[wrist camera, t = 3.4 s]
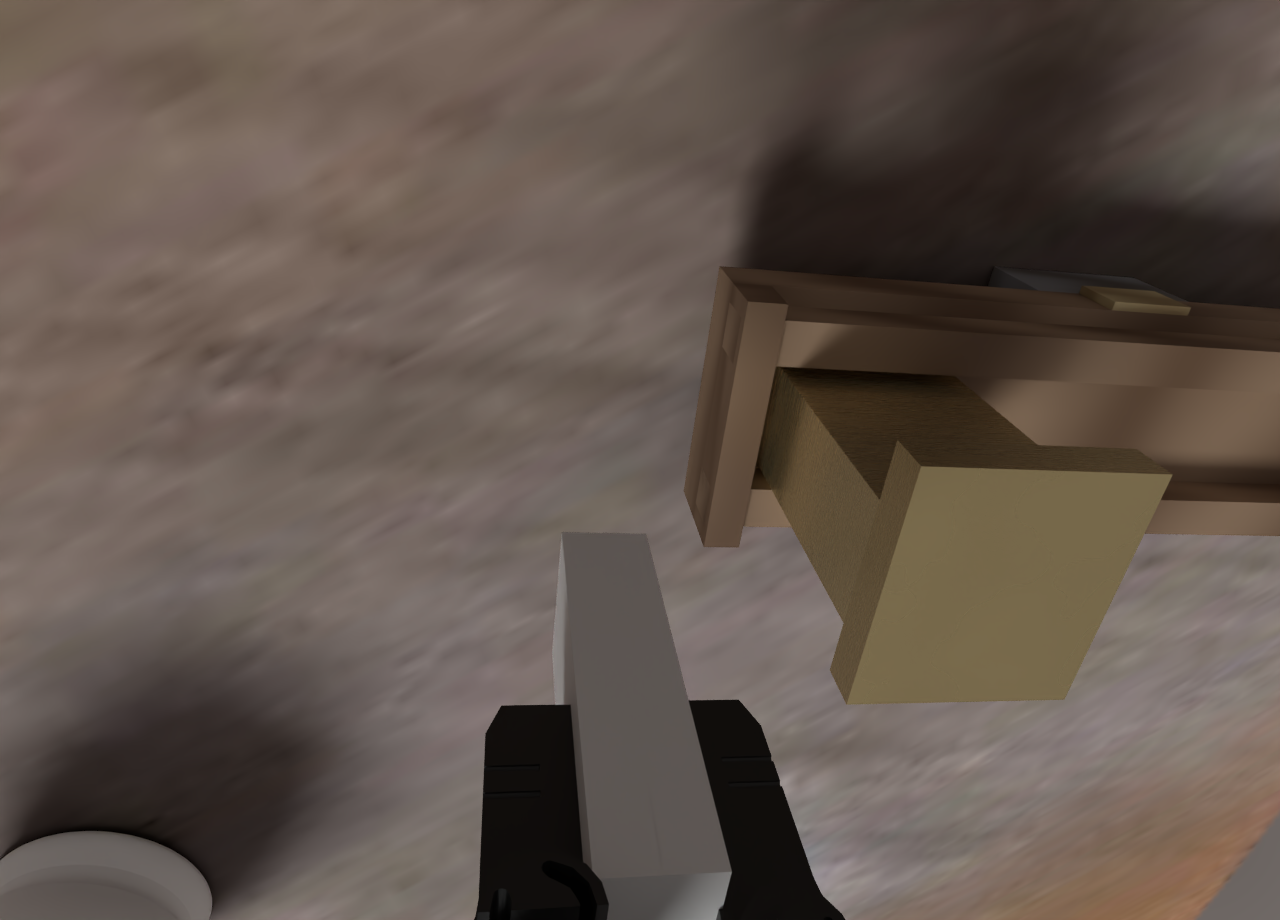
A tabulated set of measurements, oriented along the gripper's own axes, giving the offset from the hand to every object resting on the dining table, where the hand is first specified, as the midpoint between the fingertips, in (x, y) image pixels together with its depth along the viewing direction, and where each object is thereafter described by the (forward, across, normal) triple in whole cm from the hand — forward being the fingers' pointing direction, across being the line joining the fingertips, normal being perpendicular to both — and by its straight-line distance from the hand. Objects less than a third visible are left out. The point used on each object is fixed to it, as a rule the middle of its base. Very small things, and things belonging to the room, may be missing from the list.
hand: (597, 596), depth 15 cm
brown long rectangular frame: (+12, +16, 0) cm, 20 cm away
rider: (+8, +8, 0) cm, 11 cm away
